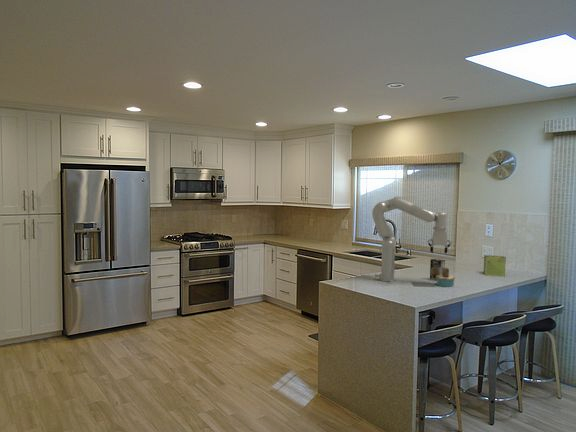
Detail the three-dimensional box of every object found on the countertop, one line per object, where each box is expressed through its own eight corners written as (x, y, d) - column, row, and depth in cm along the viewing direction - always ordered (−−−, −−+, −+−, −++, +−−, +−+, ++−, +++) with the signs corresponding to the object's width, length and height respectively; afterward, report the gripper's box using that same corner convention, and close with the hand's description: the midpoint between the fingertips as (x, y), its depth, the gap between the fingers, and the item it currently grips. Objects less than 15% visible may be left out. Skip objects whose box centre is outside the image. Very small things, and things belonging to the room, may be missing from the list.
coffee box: (429, 280, 334) (430, 259, 333) (433, 279, 338) (434, 258, 337) (440, 282, 327) (440, 260, 326) (444, 281, 331) (445, 260, 330)
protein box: (505, 276, 353) (506, 257, 352) (484, 275, 358) (485, 256, 357) (503, 274, 362) (504, 256, 362) (483, 273, 367) (484, 254, 367)
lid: (438, 279, 308) (438, 269, 307) (434, 275, 320) (434, 266, 320) (457, 279, 306) (457, 270, 306) (452, 276, 319) (452, 267, 319)
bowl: (439, 287, 309) (439, 278, 308) (435, 284, 320) (435, 275, 319) (455, 287, 308) (455, 279, 307) (450, 284, 319) (451, 276, 318)
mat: (414, 287, 308) (414, 286, 308) (409, 282, 323) (409, 281, 323) (435, 287, 307) (435, 287, 307) (430, 283, 322) (430, 282, 322)
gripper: (429, 229, 312) (427, 252, 313) (453, 230, 311) (452, 254, 312) (426, 228, 320) (425, 251, 321) (451, 229, 318) (449, 252, 319)
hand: (438, 252), depth 316 cm, fingers open, 9 cm apart
